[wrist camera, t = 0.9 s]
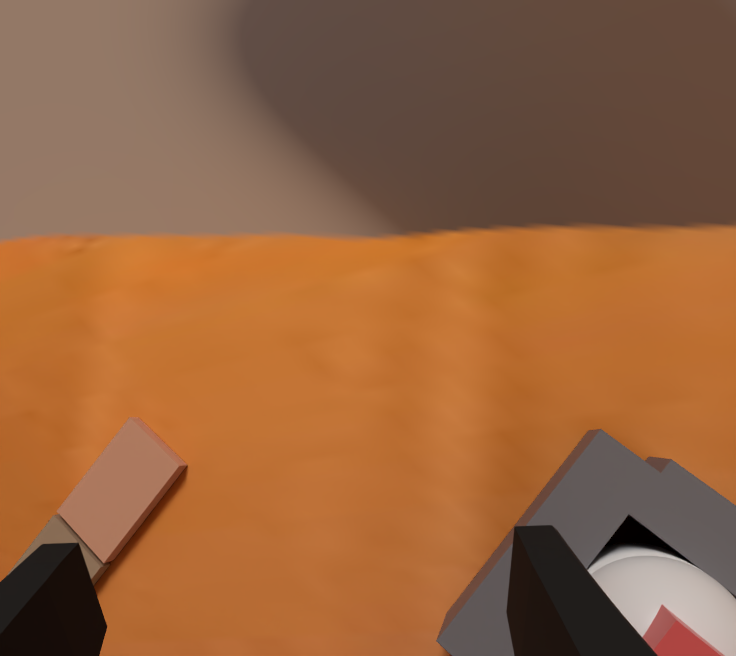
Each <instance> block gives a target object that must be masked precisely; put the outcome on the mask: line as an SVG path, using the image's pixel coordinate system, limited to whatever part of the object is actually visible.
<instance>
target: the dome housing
mask: <svg viewBox="0 0 736 656" xmlns="http://www.w3.org/2000/svg"><path fill="white" fill-rule="evenodd" d="M627 516H629V517H631V518H632V519H633V520H634V521H636V522H637V523H638V524H640V525H641V526H642V527H644V528H645V529H646V530H647V531H649V532H650V533H651V534H653V535H654V536H655V537H657V538H658V539H659V540H660V541H662V542H663V543H664V544H666V545H667V546H668V547H670V548H671V549H672V550H673V551H675V552H676V553H677V554H679V555H680V556H681V557H683V558H684V559H686V560H687V561H689V562H690V563H692V564H693V565H695V566H696V567H697V568H699V569H700V570H702V571H703V572H705V573H706V574H708V575H709V576H711V577H712V578H713V579H715V580H716V581H717V582H719V583H720V584H721V585H722V586H723V587H724V588H726V589H727V590H728V591H729V592H730V593H731V594H732V595H733V596H734V597H735V598H736V506H735V505H734V504H733V503H731V502H730V501H729V500H727V499H726V498H724V497H723V496H722V495H720V494H719V493H717V492H716V491H715V490H713V489H712V488H711V487H709V486H708V485H706V484H705V483H704V482H702V481H701V480H699V479H698V478H697V477H695V476H694V475H692V474H691V473H690V472H688V471H687V470H686V469H684V468H683V467H681V466H680V465H679V464H677V463H676V462H674V461H673V460H672V459H664V458H656V457H648V458H647V460H646V461H644V460H642V459H641V458H640V457H638V456H637V455H636V454H634V453H633V452H631V451H630V450H629V449H627V448H626V447H625V446H623V445H622V444H620V443H619V442H618V441H616V440H615V439H614V438H612V437H611V436H610V435H608V434H607V433H605V432H604V431H603V430H601V429H597V430H588V432H587V433H586V434H585V436H584V437H583V438H582V439H581V441H580V442H579V443H578V445H577V446H576V447H575V448H574V450H573V451H572V452H571V454H570V455H569V456H568V457H567V459H566V460H565V461H564V463H563V464H562V465H561V467H560V468H559V469H558V470H557V472H556V473H555V474H554V476H553V477H552V478H551V479H550V481H549V482H548V483H547V485H546V486H545V487H544V488H543V490H542V491H541V492H540V494H539V495H538V496H537V497H536V499H535V500H534V501H533V503H532V504H531V505H530V506H529V508H528V509H527V510H526V512H525V513H524V514H523V515H522V517H521V518H520V519H519V521H518V522H517V523H516V525H515V526H537V525H552V526H553V527H554V528H555V529H557V530H558V532H559V533H560V535H561V536H562V537H563V539H564V540H565V541H566V543H567V544H568V545H569V547H570V548H571V549H572V551H573V552H574V554H575V555H576V556H577V557H578V559H579V560H580V561H581V563H582V564H583V565H584V567H585V568H586V569H587V568H588V566H589V565H590V564H591V562H592V561H593V560H594V559H595V557H596V556H597V555H598V553H599V552H600V551H601V550H602V548H603V547H604V546H605V544H606V543H607V542H608V541H609V539H610V538H611V537H612V535H613V534H614V533H615V532H616V530H617V529H618V528H619V526H620V525H621V524H622V523H623V521H624V520H625V519H626V517H627ZM513 536H514V527H513V528H512V530H511V531H510V532H509V534H508V535H507V536H506V537H505V539H504V540H503V541H502V543H501V544H500V545H499V546H498V548H497V549H496V550H495V552H494V553H493V554H492V555H491V557H490V558H489V559H488V561H487V562H486V563H485V564H484V566H483V567H482V568H481V570H480V571H479V572H478V573H477V575H476V576H475V577H474V579H473V580H472V581H471V583H470V584H469V585H468V586H467V588H466V589H465V590H464V592H463V593H462V594H461V595H460V597H459V598H458V599H457V601H456V602H455V603H454V604H453V606H452V607H451V608H450V610H449V611H448V612H447V614H446V616H445V619H444V622H443V624H442V627H441V630H440V632H439V635H438V638H437V640H436V641H437V642H438V643H439V644H440V645H441V646H442V647H443V648H444V649H445V650H446V651H448V652H449V653H450V654H451V655H452V656H514V651H513V646H512V640H511V635H510V629H509V624H508V619H507V613H506V610H507V599H508V589H509V578H510V568H511V557H512V547H513Z"/></svg>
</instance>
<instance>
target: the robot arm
mask: <svg viewBox="0 0 736 656" xmlns="http://www.w3.org/2000/svg"><path fill="white" fill-rule="evenodd" d="M506 613H507V619H508V624H509V629H510V635H511V640H512V646H513V651H514V656H658V655H657V654H656V653H655V652H654V651H653V649H652V648H651V647H650V646H649V645H648V644H647V642H646V641H645V640H644V639H643V638H642V637H641V635H640V634H639V633H638V632H637V631H636V630H635V628H634V627H633V626H632V625H631V624H630V623H629V621H628V620H627V619H626V618H625V617H624V615H623V614H622V613H621V612H620V611H619V609H618V608H617V607H616V606H615V605H614V603H613V602H612V601H611V600H610V598H609V597H608V596H607V595H606V593H605V592H604V591H603V590H602V588H601V587H600V586H599V585H598V583H597V582H596V581H595V580H594V578H593V577H592V576H591V574H590V573H589V572H588V571H587V569H586V568H585V567H584V565H583V564H582V563H581V561H580V560H579V559H578V557H577V556H576V555H575V554H574V552H573V551H572V549H571V548H570V547H569V545H568V544H567V543H566V541H565V540H564V539H563V537H562V536H561V535H560V533H559V532H558V530H557V529H555V528H554V527H553V526H552V525H537V526H514V536H513V547H512V557H511V568H510V578H509V589H508V599H507V610H506ZM106 629H107V625H106V622H105V619H104V616H103V613H102V610H101V607H100V604H99V601H98V598H97V595H96V592H95V589H94V586H93V583H92V580H91V577H90V574H89V571H88V568H87V565H86V562H85V559H84V556H83V553H82V550H81V547H80V545H79V543H52V544H42V545H40V546H39V547H38V548H37V549H36V550H35V551H34V552H33V553H31V554H30V555H29V556H28V557H27V558H26V559H25V560H24V561H23V562H22V563H20V564H19V565H18V566H17V567H16V568H15V569H14V570H13V571H12V572H11V573H10V574H9V575H8V576H6V577H5V578H4V579H3V580H2V581H1V582H0V656H99V654H100V651H101V647H102V644H103V640H104V636H105V633H106Z"/></svg>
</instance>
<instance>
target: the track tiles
mask: <svg viewBox="0 0 736 656" xmlns="http://www.w3.org/2000/svg"><path fill="white" fill-rule="evenodd" d="M186 466H187V464H186V463H185V462H184V461H183V460H182V459H181V458H180V457H178V456H177V455H176V454H175V453H174V452H173V451H172V450H171V449H170V448H169V447H168V446H167V445H166V444H165V443H164V442H163V441H162V440H161V439H160V438H159V437H158V436H157V435H156V434H155V433H154V432H153V431H152V430H151V429H150V428H149V427H148V426H147V425H146V424H145V423H144V422H143V421H142V420H140V419H139V418H136V417H130V418H129V419H128V420H127V421H126V423H125V424H124V425H123V427H122V428H121V429H120V430H119V432H118V433H117V434H116V436H115V437H114V438H113V439H112V441H111V442H110V443H109V445H108V446H107V447H106V448H105V450H104V451H103V452H102V454H101V455H100V456H99V457H98V459H97V460H96V461H95V463H94V464H93V465H92V466H91V468H90V469H89V470H88V472H87V473H86V474H85V475H84V477H83V478H82V479H81V481H80V482H79V483H78V485H77V486H76V487H75V488H74V490H73V491H72V492H71V494H70V495H69V496H68V497H67V499H66V500H65V501H64V503H63V504H62V505H61V506H60V508H59V509H58V510H57V512H58V513H59V514H58V515H53V517H52V518H51V519H50V521H49V522H48V523H47V524H46V526H45V527H44V528H43V530H42V531H41V532H40V533H39V535H38V536H37V537H36V539H35V540H34V541H33V542H32V544H31V545H30V546H29V548H28V549H27V550H26V552H25V553H24V554H23V555H22V557H21V558H20V559H19V561H18V562H17V563H16V564H15V566H14V567H13V568H12V570H11V571H10V572H9V573H8V575H9V574H10V573H11V572H12V571H13V570H14V569H15V568H16V567H17V566H18V565H19V564H20V563H22V562H23V561H24V560H25V559H26V558H27V557H28V556H29V555H30V554H31V553H33V552H34V551H35V550H36V549H37V548H38V547H39V546H40V545H42V544H52V543H79V545H80V547H81V550H82V553H83V556H84V559H85V562H86V565H87V568H88V571H89V574H90V577H91V580H92V583H93V586H94V585H95V583H96V582H97V581H98V580H99V578H100V577H101V576H102V574H103V573H104V572H105V571H106V569H107V568H108V567H109V565H110V563H109V561H113V560H114V559H115V558H116V556H117V555H118V554H119V552H120V551H121V550H122V549H123V547H124V546H125V545H126V543H127V542H128V541H129V540H130V538H131V537H132V536H133V534H134V533H135V532H136V531H137V529H138V528H139V527H140V525H141V524H142V523H143V522H144V520H145V519H146V518H147V516H148V515H149V514H150V513H151V511H152V510H153V509H154V507H155V506H156V505H157V504H158V502H159V501H160V500H161V498H162V497H163V496H164V494H165V493H166V492H167V491H168V489H169V488H170V487H171V485H172V484H173V483H174V482H175V480H176V479H177V478H178V476H179V475H180V474H181V473H182V471H183V470H184V469H185V467H186ZM8 575H7V576H8Z"/></svg>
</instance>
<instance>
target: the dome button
mask: <svg viewBox="0 0 736 656" xmlns="http://www.w3.org/2000/svg"><path fill="white" fill-rule="evenodd" d="M587 571H588V572H589V573H590V574H591V576H592V577H593V578H594V580H595V581H596V582H597V583H598V585H599V586H600V587H601V588H602V590H603V591H604V592H605V593H606V595H607V596H608V597H609V598H610V600H611V601H612V602H613V603H614V605H615V606H616V607H617V608H618V609H619V611H620V612H621V613H622V614H623V615H624V617H625V618H626V619H627V620H628V621H629V623H630V624H631V625H632V626H633V627H634V628H635V630H636V631H637V632H638V633H639V634H640V635H641V637H642V638H643V639H644V640H645V641H646V642H647V644H648V645H649V646H650V647H651V648H652V649H653V651H654V652H655V653H656V654H657V655H658V656H736V599H735V598H734V596H733V595H732V594H731V593H730V592H729V591H728V590H727V589H726V588H724V587H723V586H722V585H721V584H720V583H719V582H717V581H716V580H715V579H713V578H712V577H711V576H709V575H708V574H706V573H705V572H703V571H702V570H700V569H699V568H697V567H696V566H695V565H693V564H692V563H690V562H689V561H687V560H686V559H684V558H683V557H681V556H679V555H677V554H676V553H674V552H672V551H669V550H667V549H664V548H662V547H658V546H654V545H650V544H645V543H619V544H613V545H609V546H606V547H603V548H602V550H601V551H600V552H599V553H598V555H597V556H596V557H595V559H594V560H593V561H592V562H591V564H590V565H589V566H588V568H587Z"/></svg>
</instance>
